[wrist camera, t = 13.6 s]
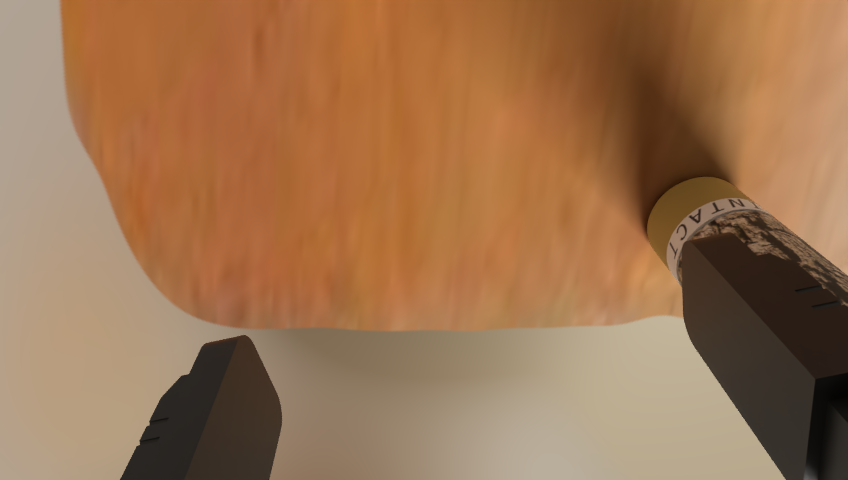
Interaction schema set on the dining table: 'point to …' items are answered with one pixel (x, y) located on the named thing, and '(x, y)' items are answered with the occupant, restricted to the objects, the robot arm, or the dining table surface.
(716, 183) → the paper tube
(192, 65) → the dining table surface
